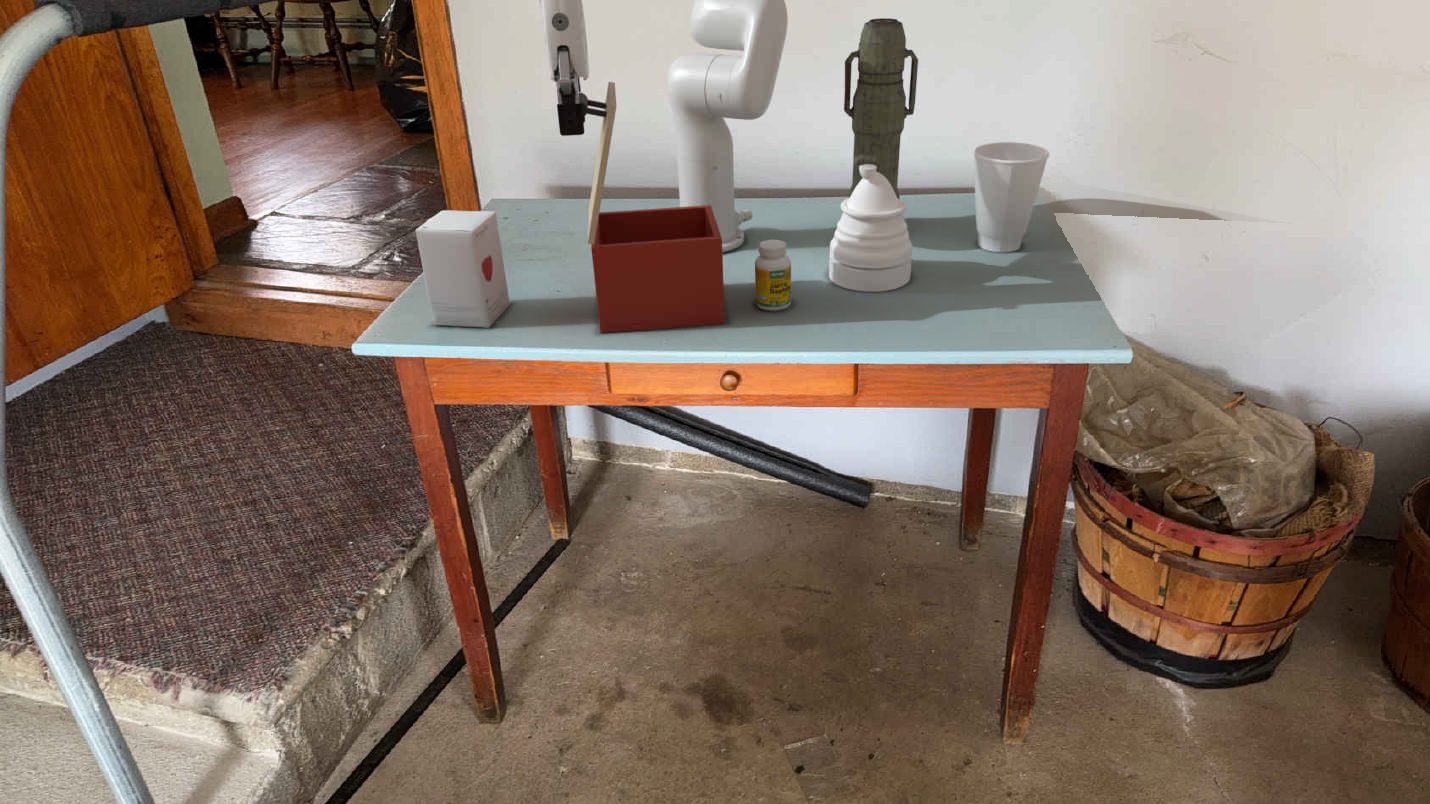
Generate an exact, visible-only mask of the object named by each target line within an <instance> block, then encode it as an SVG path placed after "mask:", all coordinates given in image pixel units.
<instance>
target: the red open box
mask: <svg viewBox="0 0 1430 804" xmlns="http://www.w3.org/2000/svg"><path fill="white" fill-rule="evenodd" d="M590 247H591V248H590V249H591V258H592V259H591V260H592V269H593V277H594V288H595V295H596V296H595V297H596V305H597V315H598V325H599V333H600V334H609V333H621V332H635V331H636V332H637V331H648V330H660V329H661V330H662V329H674V328H675V329H676V328H685V327H686V328H687V327H700V326H713V325H724V324H725V323H726V322H725V320H726V319H725V290H724V287H725V286H724V262H723V261H724V257H723V255H724V254H723V252H722V237H721V234H720V231H719V228H718V225H717V222H716V219H715V216H714V213H713V210H712V208H711V205H704V206H689V207H680V206H675V207H662V208H661V207H660V208H647V209H632V210H616V211H601V212H600V211H599V217H598V223H597V230H596V236H595V242H594V244H590Z"/></svg>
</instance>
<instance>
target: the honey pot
mask: <svg viewBox="0 0 1430 804" xmlns="http://www.w3.org/2000/svg"><path fill="white" fill-rule="evenodd" d="M876 168H877V167H876V166H875V165H870V164H866V165H861V166H859V171H860V175H861V176H862V179H861V181H860V182H859V183H858V185H857V186H856V188H855V189H854V191H853V193H852V194H851V196H850V198H849V197H848V198H846V199H844V200H843V201H842V202H841V203H840V210H841V211H842V214H841V216H840V218H839V220H838V221H837V223H836V230H835V231H834V236H833V238H832V239H831V241H830V243H829V249H830V250H829V262H828V263H829V264H828V278H829V280H830V281H831V282H832V283H834V284H835V285H837V286H838V287H842V288H844V289H847V290H851V291H857V292H866V293H867V292H869V293H870V292H872V293H873V292H875V293H876V292H886V291H891V290H895V289H896V290H897V289H899V288H901V287H904V286H905V285H906V284H908V283H909V282H910V279H911V272H912V260H913V258H912V255H913V244H912V241H911V239H910V233H909V231H908V224H907V222H906V221H905V219H904V215H903V214H905V212H906V211H907V208H908V207H907V204H906V202H905V201H903V200H902V199H898V198H897V197H896V194H895V192H894V190H893V188H892V186H891V184H890V183H889V181H888V180H887V179H886V178H885V177H884V176H883V175H882V174H880V173H878V172H876Z"/></svg>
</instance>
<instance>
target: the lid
mask: <svg viewBox="0 0 1430 804" xmlns="http://www.w3.org/2000/svg"><path fill="white" fill-rule="evenodd" d="M616 94H617V93H616V82H615V81H614V82H613V81H608V83H607V89H606V96H605V100H604V101H605V102H602V101H597V100H591V99H589V98H588V96H587V95H586V94H585V93H583V92H579V101H580V103H582V111H583V117H584V116H585V117H586V116H587V115H591V116H596V117H600V118H602V121H601V128H600V134H599V141H598V147H597V154H596V160H595V167H594V172H593V179H592V186H591V192H590V198H589V204H588V216H587V217H588V218H587V219H588V221H587V244H588V245H591V244H594V242H595V236H596V230H597V223H598V217H599V213H600V210H601V205H602V198H603V193H604V187H605V181H606V180H605V179H606V173H607V169H608V168H607V167H608V161H609V157H610V156H609V155H610V148H611V143H612V136H613V130H614V126H615V125H614V123H615V118H616V111H617V95H616Z"/></svg>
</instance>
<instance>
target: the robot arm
mask: <svg viewBox="0 0 1430 804" xmlns="http://www.w3.org/2000/svg"><path fill="white" fill-rule="evenodd" d="M539 6H540V16H541V25H542V33H543V42H544V49H545V54H546V60H547V65H548V71H549V77H550V80H551V81H552V82H555V84H556V94H557V103H556V111H557V118H558V126H559V128H558V129H559V134H560V136H562V137H566V136H568V137H569V136H582V135H584V134H585V122H586V115H585V116H584V117H583V111H582V103H580V101H579V93H582V88H581V78H583V80H582V81H587V80H588V78H589V77H590V64H589V63H590V62H589V55H588V54H589V51H588V42H587V41H588V40H587V32H586V21H585V20H586V19H585V13H584V12H585V11H584V5H583V0H539ZM788 18H789V16H788V9H787V5H786V2H785V0H694V1H693V5H692V9H691V17H690V24H689V25H690V27H689V29H690V34H691V37H692V39H693V40H694V42H695V43H696V44H698V45H700V46H702V47H705V48H709V49H716V50H725V51H726V50H727V51H741V52H742V55H730V54H722V53H705V52H693V53H688V54H684V55H682V56H679V57H678V58H677V59H675V60H674V61H673V62H672V64H671V65H670V67H669V69H668V71H667V76H666V90H667V91H666V92H667V96H668V101H669V104H670V108H671V113H672V118H673V123H674V132H675V142H676V158H677V176H678V177H677V178H678V195H679V207H689V206H704V205H711V208H712V210H713V213H714V216H715V219H716V222H717V225H718V228H719V231H720V234H721V237H722V253H725V252H730V251H732V250H735V249H737V248H739V247H740V246H742V245H743V243H745V234H744V231H743V230H741V229H739V228H740V226H741V225H742V223H745V222H748V221H750V220H752V218H753V212H752V211H751V210H750V209H748V208H747V209H744V210H741V211H739V212H738V211H736V210H735V208H736V207H735V172H734V171H735V169H734V168H735V167H734V166H735V165H734V141H733V137H732V133H731V131H730V127H729V126H728V123H727V122H726V120H725V119H734V120H743V121H744V120H745V121H747V120H748V121H752V120H757V119H760V118H761V117H762V116H764V114H765V113H766V111H767V110H768V108H769V106H770V104H771V101H772V98H773V94H774V90H775V86H776V82H777V77H778V73H779V69H780V64H781V60H782V57H783V56H782V55H783V52H784V47H785V43H786V38H787V32H788V23H789V22H788Z"/></svg>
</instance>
